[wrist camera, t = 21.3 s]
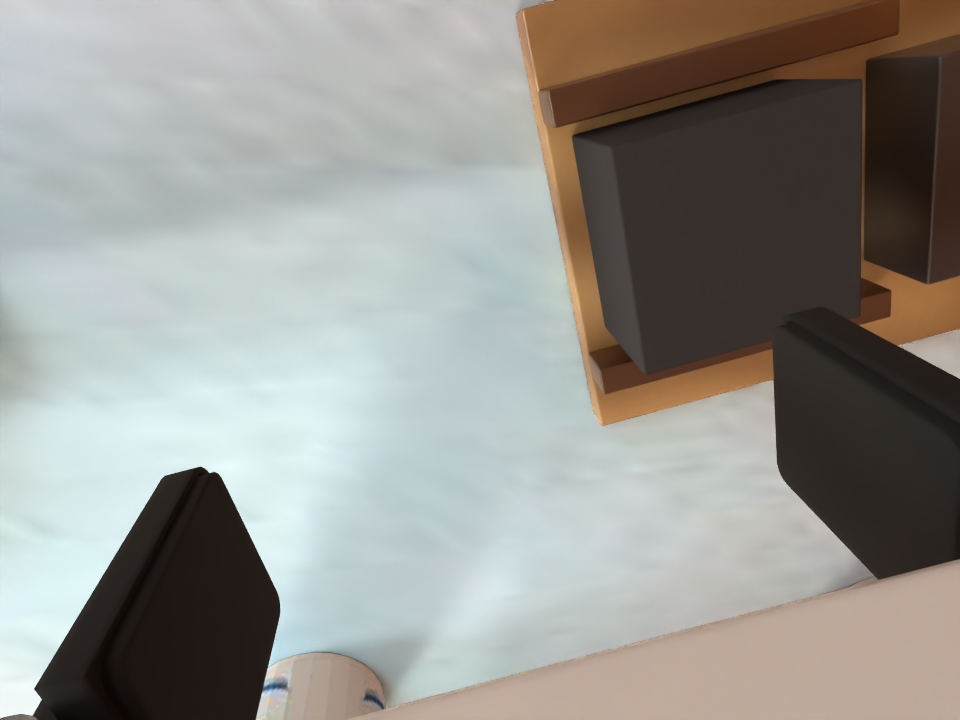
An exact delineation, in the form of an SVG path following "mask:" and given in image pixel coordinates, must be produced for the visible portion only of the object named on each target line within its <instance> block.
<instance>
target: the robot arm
mask: <svg viewBox="0 0 960 720" xmlns="http://www.w3.org/2000/svg"><path fill="white" fill-rule="evenodd" d="M772 348H773V373H774V399H775V424H776V449H777V465H778V468H779V471H780V474H781V476H782V478H783V479H784V481H785V482H786V483H787V485H788V486H789V487H790V488H791V489H792V490H793V491H794V492H795V493H796V494H797V495H798V496H799V497H800V498H801V499H802V500H803V501H804V502H805V503H806V504H807V506H808V507H809V508H810V509H811V510H812V511H813V512H814V513H815V514H816V515H817V516H818V517H819V518H820V519H821V520H822V521H823V522H824V523H825V524H826V525H827V526H828V528H829V529H830V530H831V531H832V532H833V533H834V534H835V535H836V536H837V537H838V538H839V539H840V540H841V541H842V542H843V543H844V544H845V545H846V546H847V547H848V548H849V549H850V551H851V552H852V553H853V554H854V555H855V556H856V557H857V558H858V559H859V560H860V561H861V562H862V563H863V564H864V565H865V566H866V567H867V568H868V569H869V570H870V571H871V573H872V574H873V575H874V576H875V577H876V578H877V579H878V580H876V581H873V582H869V583H865V584H861V585H857V586H853V587H849V588H845V589H841V590H837V591H834V592H830V593H826V594H822V595H818V596H814V597H810V598H806V599H802V600H799V601H795V602H791V603H787V604H783V605H779V606H775V607H771V608H767V609H763V610H760V611H756V612H752V613H748V614H744V615H740V616H736V617H732V618H728V619H724V620H721V621H717V622H713V623H709V624H705V625H701V626H697V627H693V628H689V629H686V630H682V631H678V632H674V633H670V634H667V635H663V636H659V637H655V638H651V639H647V640H644V641H640V642H636V643H632V644H628V645H624V646H621V647H617V648H613V649H609V650H605V651H602V652H598V653H594V654H590V655H586V656H582V657H579V658H575V659H571V660H567V661H563V662H560V663H556V664H552V665H548V666H545V667H541V668H537V669H533V670H529V671H526V672H522V673H518V674H514V675H510V676H507V677H503V678H499V679H495V680H491V681H488V682H484V683H480V684H476V685H473V686H469V687H465V688H461V689H457V690H454V691H450V692H446V693H443V694H439V695H435V696H431V697H428V698H424V699H420V700H417V701H413V702H409V703H405V704H402V705H398V706H394V707H391V708H387V709H383V710H379V711H376V712H372V713H368V714H365V715H361V716H357V717H353V718H350V719H346V720H960V379H959V378H957V377H955V376H953V375H951V374H949V373H947V372H945V371H944V370H942V369H940V368H938V367H936V366H934V365H932V364H930V363H929V362H927V361H925V360H923V359H921V358H919V357H917V356H915V355H914V354H912V353H910V352H908V351H906V350H904V349H902V348H900V347H899V346H897V345H895V344H893V343H891V342H889V341H887V340H885V339H884V338H882V337H880V336H878V335H876V334H874V333H872V332H870V331H869V330H867V329H865V328H863V327H861V326H859V325H857V324H855V323H854V322H852V321H850V320H848V319H846V318H844V317H842V316H840V315H839V314H837V313H835V312H833V311H831V310H829V309H827V308H825V307H822V306H819V307H815V308H811V309H807V310H804V311H800V312H796V313H792V314H788V315H785V316H784V317H783V318H782V321H781V324H780V326H776V327H775V328H774V329H773V333H772ZM279 617H280V601H279V597H278V593H277V591H276V589H275V587H274V585H273V583H272V581H271V578H270V576H269V574H268V572H267V570H266V568H265V566H264V564H263V562H262V560H261V558H260V556H259V554H258V552H257V550H256V548H255V546H254V544H253V541H252V539H251V537H250V535H249V533H248V531H247V529H246V527H245V525H244V523H243V521H242V519H241V517H240V515H239V513H238V511H237V509H236V507H235V504H234V502H233V500H232V498H231V496H230V494H229V492H228V490H227V488H226V486H225V484H224V482H223V480H222V478H221V477H220V475H219V474H218V473H216V472H213V473H209V472H208V471H207V470H206V469H205V468H203V467H197V468H193V469H190V470H186V471H182V472H178V473H174V474H170V475H167V476H164V477H163V478H162V479H161V481H160V483H159V484H158V486H157V487H156V489H155V491H154V492H153V494H152V496H151V497H150V499H149V501H148V502H147V504H146V506H145V507H144V509H143V511H142V512H141V514H140V515H139V517H138V519H137V520H136V522H135V524H134V525H133V527H132V529H131V530H130V532H129V534H128V535H127V537H126V539H125V540H124V542H123V543H122V545H121V547H120V548H119V550H118V552H117V553H116V555H115V557H114V558H113V560H112V562H111V563H110V565H109V567H108V568H107V570H106V571H105V573H104V575H103V576H102V578H101V580H100V581H99V583H98V585H97V586H96V588H95V590H94V591H93V593H92V595H91V596H90V598H89V599H88V601H87V603H86V604H85V606H84V608H83V609H82V611H81V613H80V614H79V616H78V618H77V619H76V621H75V622H74V624H73V626H72V627H71V629H70V631H69V632H68V634H67V636H66V637H65V639H64V641H63V642H62V644H61V646H60V647H59V649H58V650H57V652H56V654H55V655H54V657H53V659H52V660H51V662H50V664H49V665H48V667H47V669H46V670H45V672H44V674H43V675H42V677H41V678H40V680H39V682H38V683H37V685H36V687H35V688H34V689H35V691H36V692H37V693H38V695H39V696H40V697H41V699H42V701H41V702H40V704H39V706H38V707H37V709H36V711H35V713H34V714H33V716H30V715H24V714H18V715H13V716H8V717H3V718H1V719H0V720H256V716H257V712H258V708H259V703H260V699H261V695H262V690H263V686H264V682H265V677H266V673H267V669H268V664H269V660H270V656H271V651H272V647H273V643H274V638H275V634H276V630H277V625H278V621H279Z"/></svg>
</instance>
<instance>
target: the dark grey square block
mask: <svg viewBox="0 0 960 720" xmlns="http://www.w3.org/2000/svg"><path fill="white" fill-rule="evenodd" d="M862 107H863V81H862V80H861V79H776V80H772V81H768V82H765V83H761V84H757V85H754V86H750V87H746V88H743V89H739V90H735V91H732V92H728V93H724V94H721V95H717V96H713V97H710V98H706V99H702V100H699V101H695V102H691V103H688V104H684V105H680V106H677V107H673V108H669V109H666V110H662V111H658V112H655V113H651V114H647V115H644V116H640V117H636V118H632V119H629V120H625V121H621V122H618V123H614V124H610V125H607V126H603V127H599V128H596V129H592V130H588V131H585V132H581V133H577V134H574V135H573V136H572V142H573V148H574V153H575V159H576V165H577V170H578V176H579V182H580V187H581V193H582V199H583V204H584V210H585V216H586V222H587V227H588V233H589V239H590V244H591V250H592V256H593V261H594V267H595V273H596V279H597V284H598V290H599V296H600V301H601V307H602V313H603V318H604V324H605V327H606V329H607V330H608V331H609V332H610V333H611V335H612V336H613V337H614V338H615V340H616V341H617V342H618V343H619V344H620V346H621V347H622V348H623V349H624V350H625V352H626V353H627V354H628V355H629V356H630V358H631V359H632V360H633V361H634V363H635V364H636V365H637V366H638V367H639V369H640V370H641V371H642V372H643V373H644V375H648V374H652V373H656V372H659V371H663V370H667V369H670V368H674V367H678V366H681V365H685V364H689V363H692V362H696V361H700V360H703V359H707V358H711V357H714V356H718V355H722V354H725V353H729V352H733V351H736V350H740V349H743V348H747V347H751V346H754V345H758V344H762V343H765V342H769V341H772V333H773V329H774V328H775V327H776V326H780V324H781V321H782V318H783V317H784V316H785V315H788V314H792V313H796V312H800V311H804V310H807V309H811V308H815V307H819V306H822V307H825V308H827V309H829V310H831V311H833V312H835V313H837V314H839V315H840V316H842V317H844V318H846V319H848V320H850V319H853V318H857V317H859V316H860V315H861V220H862Z"/></svg>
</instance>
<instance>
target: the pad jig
mask: <svg viewBox="0 0 960 720" xmlns="http://www.w3.org/2000/svg"><path fill="white" fill-rule="evenodd" d="M516 20H517V25H518V31H519V36H520V41H521V46H522V51H523V56H524V61H525V66H526V71H527V76H528V82H529V87H530V92H531V97H532V102H533V107H534V112H535V117H536V122H537V127H538V133H539V138H540V143H541V148H542V153H543V158H544V163H545V168H546V173H547V178H548V184H549V189H550V194H551V199H552V204H553V209H554V214H555V219H556V224H557V229H558V235H559V240H560V245H561V250H562V255H563V260H564V265H565V270H566V275H567V280H568V286H569V291H570V296H571V301H572V306H573V311H574V316H575V321H576V326H577V331H578V337H579V342H580V347H581V352H582V357H583V362H584V367H585V372H586V377H587V382H588V388H589V393H590V398H591V403H592V408H593V412H594V414H595V415H596V417H597V419H598V420H599V422H600V424H601V425H602V426H605V425H608V424H612V423H616V422H619V421H623V420H626V419H630V418H634V417H637V416H641V415H645V414H648V413H652V412H656V411H659V410H663V409H667V408H670V407H674V406H678V405H681V404H685V403H689V402H692V401H696V400H700V399H703V398H707V397H711V396H714V395H718V394H722V393H725V392H729V391H733V390H736V389H740V388H744V387H747V386H751V385H754V384H758V383H762V382H765V381H769V380H773V379H774V373H773V348H772V341H769V342H765V343H762V344H758V345H754V346H751V347H747V348H743V349H740V350H736V351H733V352H729V353H725V354H722V355H718V356H714V357H711V358H707V359H703V360H700V361H696V362H692V363H689V364H685V365H681V366H678V367H674V368H670V369H667V370H663V371H659V372H656V373H652V374H648V375H644V373H643V372H642V371H641V370H640V369H639V367H638V366H637V365H636V364H635V363H634V361H633V360H632V359H631V358H630V356H629V355H628V354H627V353H626V352H625V350H624V349H623V348H622V347H621V346H620V344H619V343H618V342H617V341H616V340H615V338H614V337H613V336H612V335H611V333H610V332H609V331H608V330H607V329H606V327H605V324H604V318H603V313H602V307H601V301H600V296H599V290H598V284H597V279H596V273H595V267H594V261H593V256H592V250H591V244H590V239H589V233H588V227H587V222H586V216H585V210H584V204H583V199H582V193H581V187H580V182H579V176H578V170H577V165H576V159H575V153H574V148H573V142H572V136H573V135H574V134H577V133H581V132H585V131H588V130H592V129H596V128H599V127H603V126H607V125H610V124H614V123H618V122H621V121H625V120H629V119H632V118H636V117H640V116H644V115H647V114H651V113H655V112H658V111H662V110H666V109H669V108H673V107H677V106H680V105H684V104H688V103H691V102H695V101H699V100H702V99H706V98H710V97H713V96H717V95H721V94H724V93H728V92H732V91H735V90H739V89H743V88H746V87H750V86H754V85H757V84H761V83H765V82H768V81H772V80H776V79H861V80H862V81H863V107H862V220H861V315H860V316H859V317H857V318H853V319H850V321H852V322H854V323H855V324H857V325H859V326H861V327H863V328H865V329H867V330H869V331H870V332H872V333H874V334H876V335H878V336H880V337H882V338H884V339H885V340H887V341H889V342H891V343H893V344H895V345H901V344H904V343H908V342H912V341H915V340H919V339H923V338H926V337H930V336H934V335H937V334H941V333H945V332H948V331H952V330H956V329H959V328H960V0H554V1H551V2H547V3H543V4H540V5H536V6H532V7H529V8H525V9H523V10H521V11H519V12H518V13H517V14H516Z"/></svg>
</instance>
